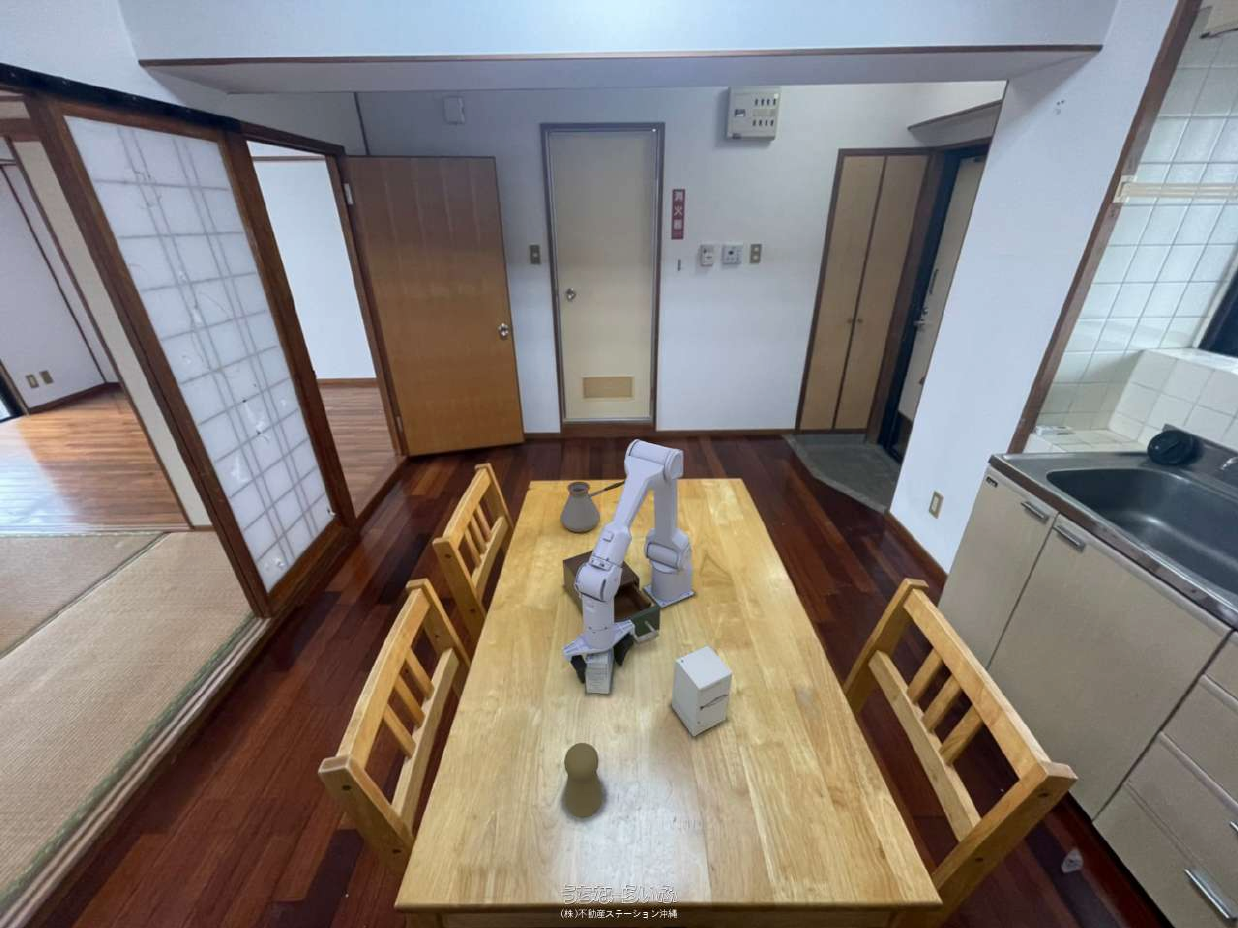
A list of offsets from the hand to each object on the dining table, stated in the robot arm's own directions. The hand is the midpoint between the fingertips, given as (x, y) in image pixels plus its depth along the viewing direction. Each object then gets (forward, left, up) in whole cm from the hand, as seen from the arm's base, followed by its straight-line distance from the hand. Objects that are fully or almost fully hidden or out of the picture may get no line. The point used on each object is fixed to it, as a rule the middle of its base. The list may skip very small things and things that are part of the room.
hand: (600, 670), depth 102 cm
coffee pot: (-24, -48, -2) cm, 54 cm away
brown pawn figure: (+13, +19, -2) cm, 23 cm away
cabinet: (-11, -21, -2) cm, 24 cm away
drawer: (-11, -9, -1) cm, 14 cm away
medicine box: (0, 0, -2) cm, 2 cm away
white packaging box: (-12, +16, -2) cm, 20 cm away
